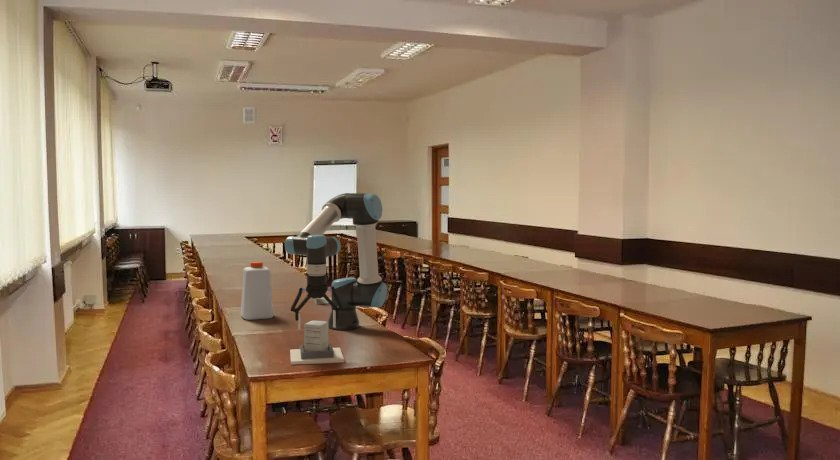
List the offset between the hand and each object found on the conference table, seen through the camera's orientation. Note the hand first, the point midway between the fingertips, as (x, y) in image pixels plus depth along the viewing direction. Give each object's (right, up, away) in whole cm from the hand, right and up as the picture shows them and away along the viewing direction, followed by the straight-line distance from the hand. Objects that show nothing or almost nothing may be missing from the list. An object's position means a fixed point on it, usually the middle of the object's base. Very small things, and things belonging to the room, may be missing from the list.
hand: (317, 328), depth 255 cm
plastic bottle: (-42, -6, +75) cm, 86 cm away
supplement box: (0, -11, 0) cm, 11 cm away
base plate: (0, -12, 0) cm, 12 cm away
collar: (0, -10, 0) cm, 10 cm away
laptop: (-14, -3, +121) cm, 122 cm away
